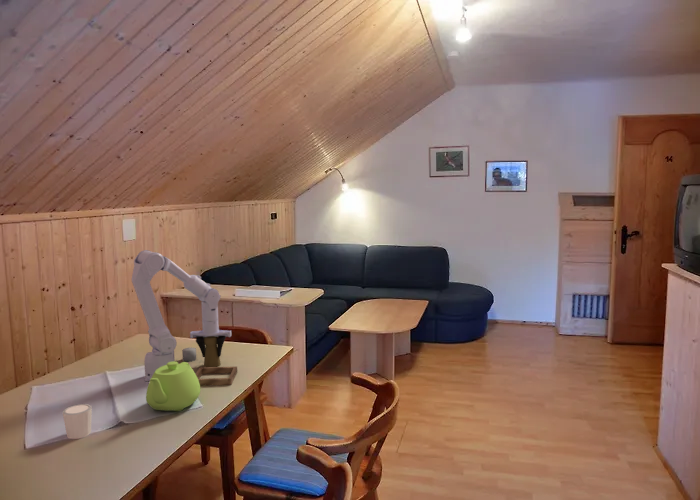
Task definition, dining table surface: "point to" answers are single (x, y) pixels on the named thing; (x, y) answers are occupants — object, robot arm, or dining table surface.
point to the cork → (211, 352)
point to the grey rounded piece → (189, 354)
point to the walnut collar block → (214, 371)
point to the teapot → (173, 387)
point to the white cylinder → (78, 421)
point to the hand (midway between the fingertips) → (211, 356)
